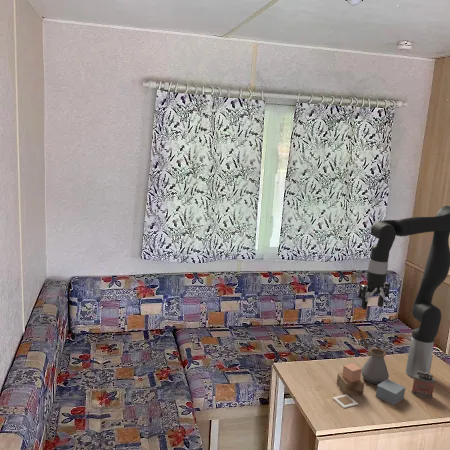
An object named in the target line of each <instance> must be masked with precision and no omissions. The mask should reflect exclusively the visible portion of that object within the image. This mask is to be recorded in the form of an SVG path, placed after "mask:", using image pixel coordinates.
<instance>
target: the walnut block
mask: <svg viewBox="0 0 450 450" xmlns="http://www.w3.org/2000/svg"><path fill="white" fill-rule="evenodd" d="M342 374H343V372H340V373H339V372H338V373H337V378H336V385H337V387H338V388H339V389H340V390H341V392H342V394H343V395H345V394H347V395H363V394H364V389H365V382H364V381H363V380H362V378H361V377H360V380H358V381H355V382H352V383H351V382H349V381H348V380H346V379H345V378H343V377H342Z"/></svg>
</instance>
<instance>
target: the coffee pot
mask: <svg viewBox="0 0 450 450" xmlns="http://www.w3.org/2000/svg"><path fill="white" fill-rule="evenodd" d="M356 335H359V336H360V338H361V340H362V342H363V343H364V345H365V347H366V348H367V349H368V351H369V353H370V356H369V357H368V359H367V360H366V362H365V363H364V365H363V366H362V367H361V375H362V377H363V378H364V380H366V381H367V382H368V383H370V384H374V385H378V384H380V383H381V382H383V381H385V380H386V379H389V377H390V375H389V371H388V368H387V363H386V361H385V356H386V354H387V353H386V351H385V350H383V349H381V348H370V345H369V344H368V342H367V340H366V338H365V337H364V335H363V334H362V332H361V331H359V332H357V333H356Z"/></svg>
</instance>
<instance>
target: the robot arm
mask: <svg viewBox="0 0 450 450" xmlns="http://www.w3.org/2000/svg"><path fill="white" fill-rule="evenodd" d="M432 232H433V234H432V235H433V236H432V239H431V243H430V248H429V253H428V256H427V259H426V264H425V267H424V272H423V275H422V278H421V283H420V286H419V288H418V291H417V294H416V297H415V300H414V302H413V304H412V308H411V314H412V316H413V318H414V319H416V320H417V322H420V323H419V327H417V328H414V329H412V331H411V332H412V333H411V337H410V341H409V342H410V343H409V349H408V355H407V361H406V365H405V367H406V368H405V374H406V375H408V376H409V377H410V378H413V379H414V375H418V374H417V371H422V372H428V373H429V374H431V373H430V372H431V368H432V362H433V349H434V344H435V339H436V337H437V335H438V334H439V329H440V324H441V320H442V312H441V310H440V308H439V307H438V306H436V305H435V304H432V301H433V297H434V294H435V292H436V290H437V289H438V287H440V286H441V284H442V283H443V282H444V281H445V280H446V279H447V277H448V275H449V271H450V243H449V242H450V241H449V240H450V239H449V238H450V205H444V206H442V207H441V208H440V209H438V211H437V214H436V216H412V217H406V218H400V219H386V220H385V219H382V220H378V221H376V222H374V223H373V224H372V225H371V227H370V233H371V235H372V236H373V237H375V238H376V239H378V241H377V243H376V244H373V245H372V247H371V251H370V258H369V262H368V267H367V274H366V281H367V283H366V284H360V286H359V292H358V299H360V300H361V305H360V306H361V309H362V310H367V309H368V305H369V304H368V303H369V302H368V301H369V299H370V298H372V296H375V295H378V299H377V306H378V307H380V308H383V307H384V303H385V299H386V298H388V297H389V296H390V288H391V287H390V286H391V284H390V283H389V282H387V275H388V268H389V257H390V251H391V249H392V246H393V244H394V242H395V239H396V236H397V237H407V236H414V235H418V234H423V233H425V234H426V233H432Z"/></svg>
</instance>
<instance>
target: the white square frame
mask: <svg viewBox="0 0 450 450" xmlns="http://www.w3.org/2000/svg"><path fill="white" fill-rule="evenodd" d="M331 399H333V400H334V401H335V402H336V403H337V404H338V405H340V407H342V408H343V409H347V408H350V407H355V406H358V405H359V403H358V402H357V401H356V400H355V399H353V398H352V397H350V395H349V394H345V395H344V394H342V395H338V396H333V397H332V398H331Z"/></svg>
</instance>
